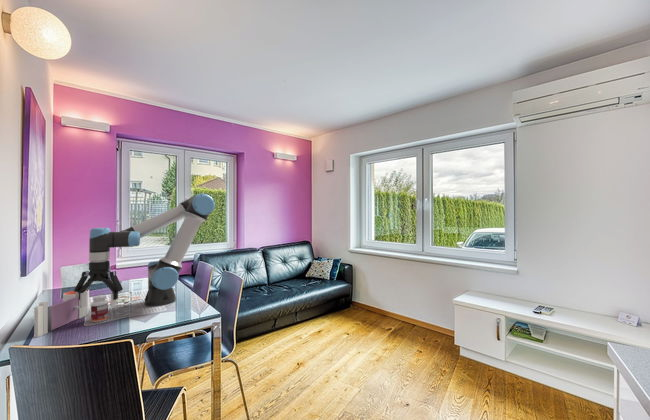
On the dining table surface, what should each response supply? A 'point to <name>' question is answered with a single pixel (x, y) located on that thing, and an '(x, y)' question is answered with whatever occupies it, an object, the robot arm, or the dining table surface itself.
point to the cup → (73, 294)
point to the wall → (42, 317)
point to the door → (62, 313)
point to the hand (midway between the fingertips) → (98, 306)
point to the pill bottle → (99, 309)
